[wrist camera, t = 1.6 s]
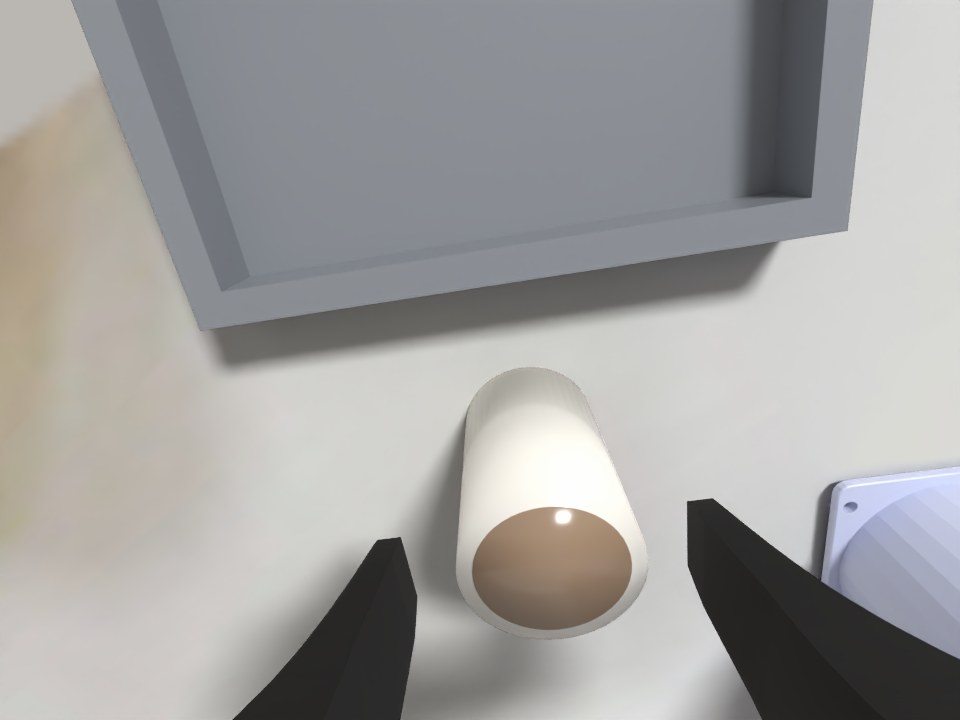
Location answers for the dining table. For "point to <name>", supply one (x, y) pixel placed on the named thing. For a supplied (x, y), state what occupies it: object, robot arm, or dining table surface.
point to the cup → (543, 512)
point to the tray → (473, 137)
